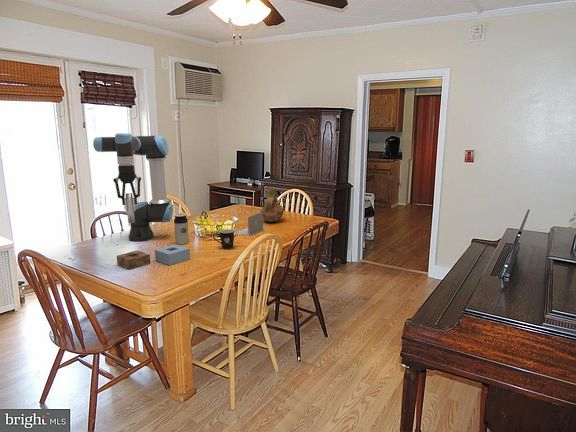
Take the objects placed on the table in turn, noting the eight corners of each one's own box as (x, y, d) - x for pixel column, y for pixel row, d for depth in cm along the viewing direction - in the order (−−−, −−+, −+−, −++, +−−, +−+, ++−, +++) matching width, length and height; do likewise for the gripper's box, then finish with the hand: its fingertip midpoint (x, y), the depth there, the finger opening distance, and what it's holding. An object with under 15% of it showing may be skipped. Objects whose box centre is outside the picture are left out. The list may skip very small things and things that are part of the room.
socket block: (155, 260, 222) (154, 249, 221) (175, 254, 232) (175, 244, 230) (169, 265, 214) (168, 254, 212) (190, 259, 223) (189, 248, 222)
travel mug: (175, 242, 257) (173, 213, 253) (188, 240, 259) (186, 212, 255) (176, 245, 249) (174, 216, 245) (189, 243, 252) (187, 215, 248)
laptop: (248, 228, 290) (247, 210, 287) (263, 230, 284) (263, 211, 281) (233, 234, 274) (232, 215, 271) (248, 236, 268) (248, 217, 266)
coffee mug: (237, 246, 246) (236, 229, 244) (230, 250, 238) (230, 233, 236) (220, 244, 250) (219, 228, 248) (213, 248, 242) (212, 232, 240)
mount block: (117, 264, 216) (116, 255, 215) (138, 259, 225) (137, 250, 224) (129, 269, 208) (128, 260, 207) (150, 263, 217) (149, 254, 216)
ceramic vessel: (286, 217, 320) (285, 185, 315) (281, 225, 295) (280, 190, 289) (264, 217, 322) (263, 185, 317) (257, 224, 297) (256, 190, 292)
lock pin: (127, 222, 212) (124, 193, 208) (132, 221, 214) (130, 192, 211) (130, 223, 210) (127, 194, 206) (136, 222, 212) (133, 193, 209)
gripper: (107, 166, 199) (112, 213, 204) (143, 164, 204) (147, 211, 210) (108, 164, 206) (113, 210, 211) (143, 163, 211) (147, 208, 216)
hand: (130, 210), depth 210 cm, fingers closed on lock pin, 3 cm apart
